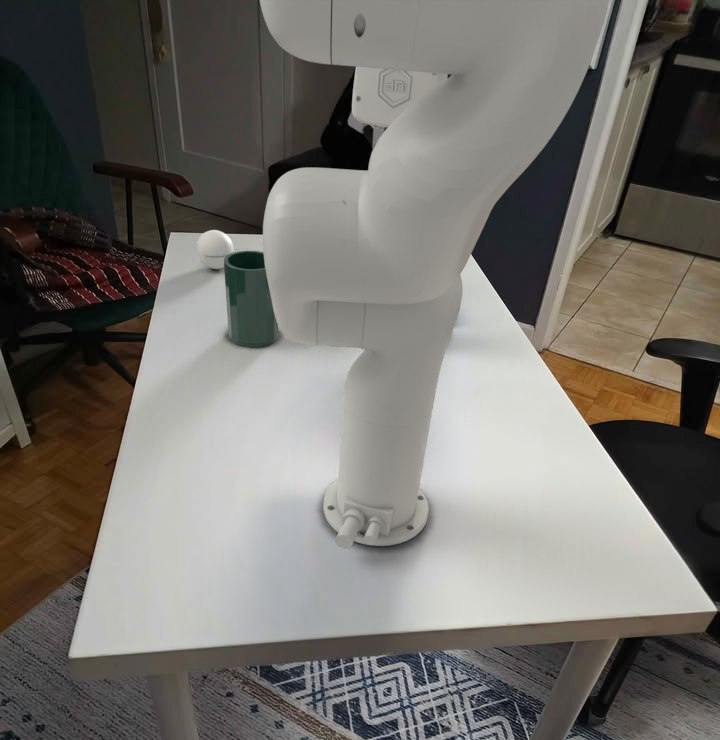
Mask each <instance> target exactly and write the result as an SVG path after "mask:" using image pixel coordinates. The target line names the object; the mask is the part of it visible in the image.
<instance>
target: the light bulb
mask: <svg viewBox="0 0 720 740" xmlns="http://www.w3.org/2000/svg"><path fill="white" fill-rule="evenodd" d="M195 249H196V254H197V257H198V259H199V261H200V263H202V264H203V265H204V266H206V267H207V268H209V269H213V270H220V269H224V258H225V257H226V256H227V255H229V254H231V253H234V252H235V250H237V251H238V248H234V244H233V241H232V239H231V238H230V236H229V235H228V234H226V233H225V232H223V231H221V230H217V229H210V230H207V231H204V232H203V233H202V234H201V235H200V236H199V238H198V239H197V242H196V248H195ZM246 249H247V250H248V249H249V248H248V247H247V248H245V247H244V248H243V250H246Z"/></svg>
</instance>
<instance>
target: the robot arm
mask: <svg viewBox="0 0 720 740" xmlns="http://www.w3.org/2000/svg"><path fill="white" fill-rule="evenodd" d="M609 3H610V0H259V5H260V8H261V13H262V17H263V19H264V22H265V25H266V27H267V29H268V32H269V33H270V35H271V36H272V38H273V39H274V41H275V42H276V44H277V45H278V46H279V47H280V48H282V49H283V50H284V51H285V52H287V53H288V54H290V55H292V56H294V57H296V58H298V59H300V60H303V61H306V62H309V63H315V64H320V65H322V64H323V65H330V66H331V65H333V66H345V67H355V70H354V80H353V88H352V98H351V99H352V100H351V111H350V114H349V115H348V118H347V125H348V126H349V127H350V128H352V129H354V130H356V132H359V134H360V133H361V134H363V136H364V137H365V138H366V140H367V141H368V143H369V144H370V146H371V148H372V150H371V154H370V157H369V162H368V168H367V170H363V169H362V170H361V169H359V170H358V169H347V168H332V167H299V168H294V169H291V170H288V171H287V172H285V173H284V174H282V175H281V176H280V177H278V178H277V180H276V181H275V183H274V184H273V186H272V188H271V189H270V191H269V194H268V196H267V201H266V204H265V209H264V215H263V223H262V252H264V262H265V270H266V275H267V280H268V285H269V290H270V295H271V300H272V305H273V310H274V314H275V318H276V321H277V324H278V330H279V331H280V332H281V334H282V336H284V337H285V338H286V339H287V340H288V341H291V342H293V343H294V344H295V343H296V344H300V345H306V346H318V347H336V348H351V349H361V350H363V351H361V353H360V355H359V356H358V357H357V358H356V359H355V361H354V362H353V363H352V365H351V366H350V368H349V370H348V372H347V374H346V377H345V379H344V384H343V392H342V408H341V409H342V410H341V424H340V425H341V427H340V439H339V440H340V441H339V442H340V443H339V455H338V456H339V457H338V459H339V460H338V473H337V474H338V475H337V479H336V480H334V481H333V482H332V483H331V484H330V485H329V487H327V489H326V491H325V493H324V496H323V508H322V509H323V514H324V517H325V519H326V521H327V523H328V524H329V525H330V527H331V528H332V529H333V530H334V531H335V532H336V533H337V535H336V537H335V543H336V545H338V546H339V547H340V548H342V549H350V548H352V546H353V545H354V542H355V543H358V544H362V545H366V546H372V547H373V546H374V547H385V546H386V547H387V546H394V545H399V544H402V543H405V542H407V541H410V540H411V539H413V538H415V537H416V536H417V535H418V534H420V532H422V531H423V529H424V528H425V526H426V524H427V521H428V519H429V518H428V517H429V510H430V507H429V502H428V500H427V497H426V495H425V494H424V492H423V491H422V489H421V488H420V487H421V480H422V473H423V468H424V463H425V457H426V450H427V445H428V444H427V443H428V440H429V439H428V438H429V437H428V436H429V433H430V428H431V427H430V426H431V420H432V415H433V414H432V413H433V410H434V406H435V399H436V393H437V387H438V383H439V378H440V373H441V370H442V365H443V362H444V359H445V358H444V357H445V354H446V351H447V348H448V345H449V343H450V340H451V336H452V334H453V331H454V328H455V325H456V323H457V320H458V317H459V314H460V313H459V312H460V309H461V306H462V305H461V304H462V299H463V281H462V276H461V274H462V272H463V271H464V269H465V267H466V265H467V263H468V261H469V259H470V257H471V255H472V253H473V251H474V249H475V246H476V244H477V242H478V240H479V238H480V236H481V234H482V231H483V229H484V227H485V225H486V223H487V220H488V218H489V217H490V214H491V212H492V210H493V208H494V206H495V205H496V203H497V202H498V201H499V200H500V198H501V197H502V196H503V195H504V194H505V193H506V191H507V190H508V189H509V188H510V187H511V186H512V184H514V182H515V181H516V180H517V179H518V178H519V177H520V176H521V175H522V174H523V173H524V172H525V170H526V169H528V168H529V166H530V165H531V164H532V163H533V162H534V160H535V159H536V158H537V157H538V156H539V154H540V153H541V152H542V151H543V150H544V148H545V147H546V146H547V144H548V143H549V141H550V140H551V139H552V137H553V136H554V135H555V133H556V131H557V130H558V128H559V127H560V125H561V123H562V122H563V120H564V118H565V117H566V115H567V113H568V111H569V110H570V108H571V106H572V104H573V103H574V100H575V98H576V97H577V94H578V93H579V90H580V88H581V86H582V83H583V81H584V79H585V77H586V75H587V73H588V70H589V67H590V65H591V62H592V60H593V56H594V54H595V52H596V49H597V45H598V43H599V40H600V36H601V33H602V30H603V27H604V24H605V21H606V17H607V12H608V8H609ZM449 75H450V76H449Z"/></svg>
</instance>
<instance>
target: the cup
mask: <svg viewBox="0 0 720 740" xmlns="http://www.w3.org/2000/svg"><path fill="white" fill-rule="evenodd" d="M223 269H224V285H225V301H226V312H227V313H226V314H227V330H228V337H229V340H230V341H231V342H232V343H233V344H235V345H238V346H240V347H241V346H242V347H245V348H262V347H266V346H269V345H272V344H273V343H275V342H276V341H277V340H278V338H279V327H278V324H277V321H276V318H275V314H274V310H273V305H272V300H271V295H270V290H269V285H268V280H267V275H266V270H265V262H264V252H263V251H259V250H239V251H234V253H231V254H229V255H227V256H226V257H225V258H224V268H223Z"/></svg>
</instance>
